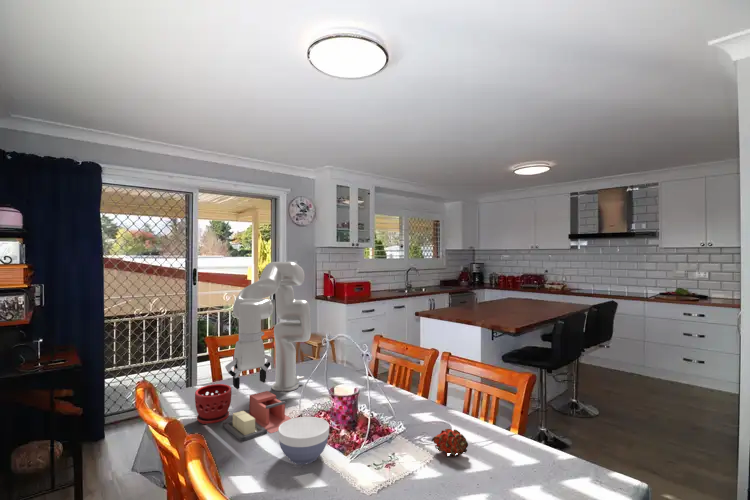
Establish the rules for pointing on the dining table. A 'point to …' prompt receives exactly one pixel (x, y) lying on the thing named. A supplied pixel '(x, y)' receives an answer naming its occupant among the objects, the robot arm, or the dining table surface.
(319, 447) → the bowl
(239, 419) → the cream chunky block
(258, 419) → the dispenser
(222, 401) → the plant pot
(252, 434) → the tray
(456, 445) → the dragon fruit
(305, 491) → the dining table surface
